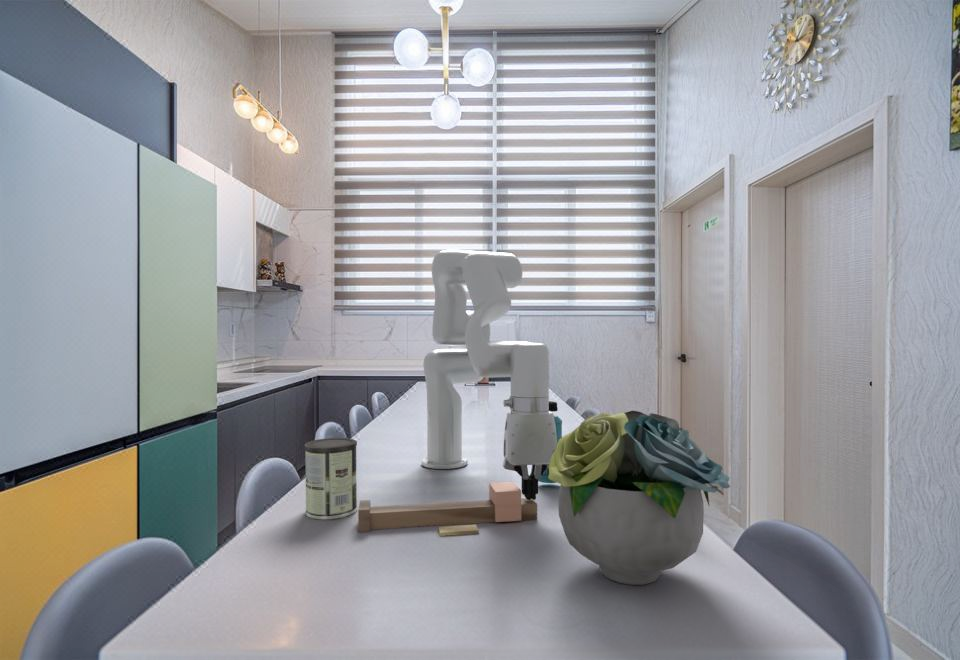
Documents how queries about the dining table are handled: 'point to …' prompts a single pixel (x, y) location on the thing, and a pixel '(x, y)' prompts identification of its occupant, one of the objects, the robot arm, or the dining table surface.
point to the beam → (435, 515)
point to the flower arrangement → (633, 493)
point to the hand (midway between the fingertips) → (529, 497)
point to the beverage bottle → (558, 426)
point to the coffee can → (331, 478)
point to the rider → (506, 501)
